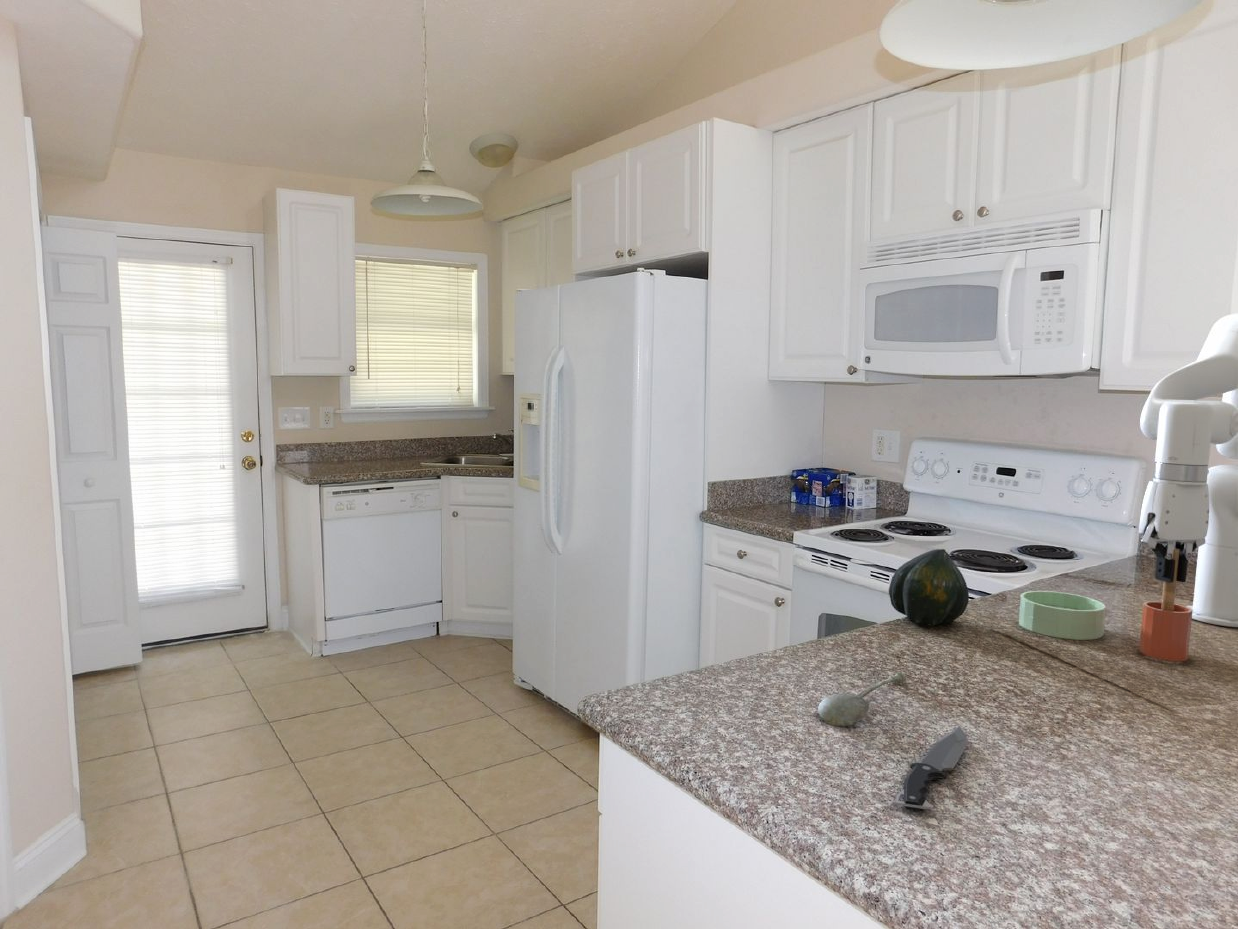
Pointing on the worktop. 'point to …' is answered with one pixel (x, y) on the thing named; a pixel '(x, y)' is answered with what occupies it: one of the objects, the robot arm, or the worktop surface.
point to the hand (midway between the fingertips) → (1169, 579)
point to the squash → (929, 589)
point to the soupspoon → (850, 704)
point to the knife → (931, 769)
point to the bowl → (1062, 615)
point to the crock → (1165, 632)
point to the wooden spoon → (1170, 587)
